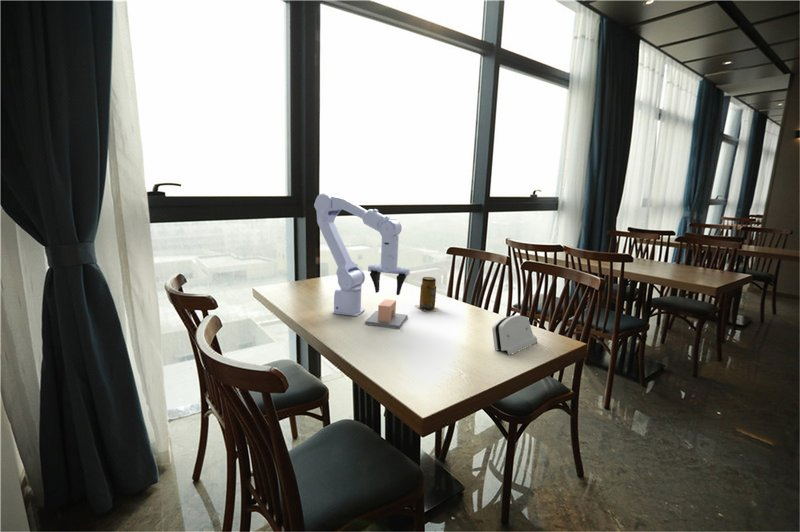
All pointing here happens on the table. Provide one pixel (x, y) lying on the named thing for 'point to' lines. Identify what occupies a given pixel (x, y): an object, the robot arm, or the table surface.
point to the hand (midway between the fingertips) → (387, 293)
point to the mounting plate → (394, 323)
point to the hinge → (513, 334)
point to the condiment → (428, 295)
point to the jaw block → (386, 310)
